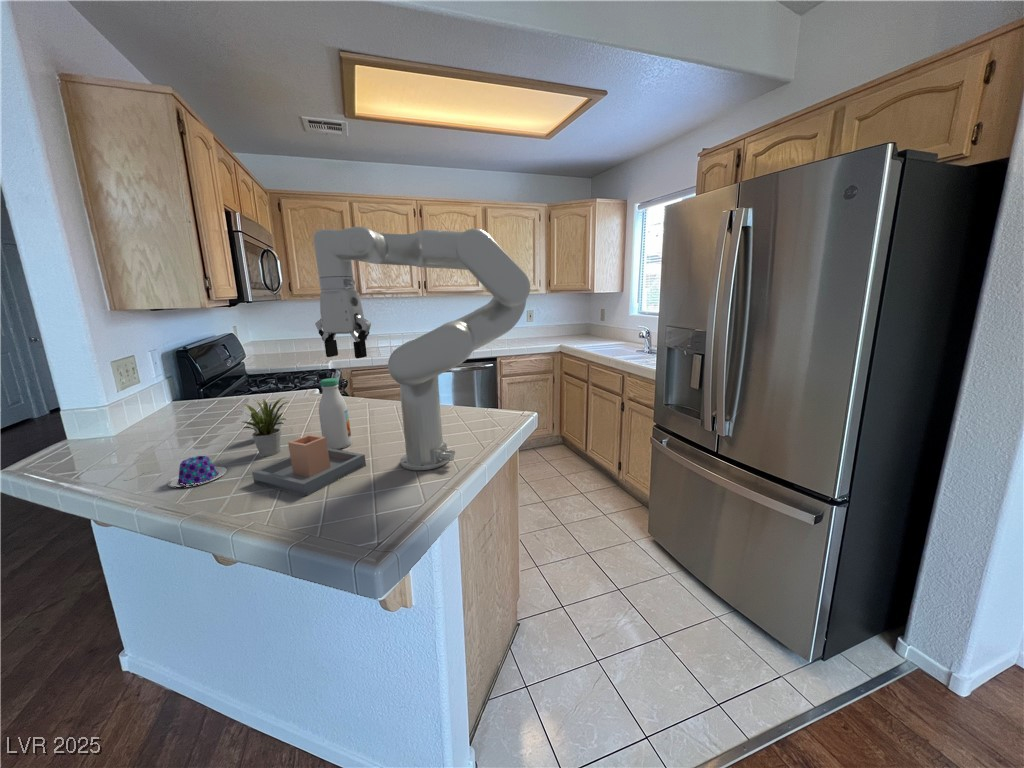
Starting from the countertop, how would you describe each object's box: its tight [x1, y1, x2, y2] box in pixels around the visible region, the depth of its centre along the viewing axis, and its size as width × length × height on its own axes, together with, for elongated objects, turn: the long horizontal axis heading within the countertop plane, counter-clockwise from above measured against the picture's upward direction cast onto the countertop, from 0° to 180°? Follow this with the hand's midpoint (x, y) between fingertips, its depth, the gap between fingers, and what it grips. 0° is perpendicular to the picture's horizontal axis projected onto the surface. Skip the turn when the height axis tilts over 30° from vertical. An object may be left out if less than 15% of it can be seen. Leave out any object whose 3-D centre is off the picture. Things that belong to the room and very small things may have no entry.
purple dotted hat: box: [167, 455, 228, 488], centre depth 105 cm, size 12×12×5 cm
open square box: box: [287, 434, 330, 477], centre depth 104 cm, size 6×6×8 cm
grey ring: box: [252, 405, 283, 433], centre depth 134 cm, size 10×4×10 cm, turn 166°
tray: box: [251, 448, 367, 497], centre depth 105 cm, size 18×18×3 cm
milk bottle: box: [318, 377, 353, 450], centre depth 122 cm, size 8×8×20 cm
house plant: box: [235, 396, 289, 457], centre depth 120 cm, size 14×14×16 cm
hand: (346, 356), depth 103 cm, fingers open, 9 cm apart
